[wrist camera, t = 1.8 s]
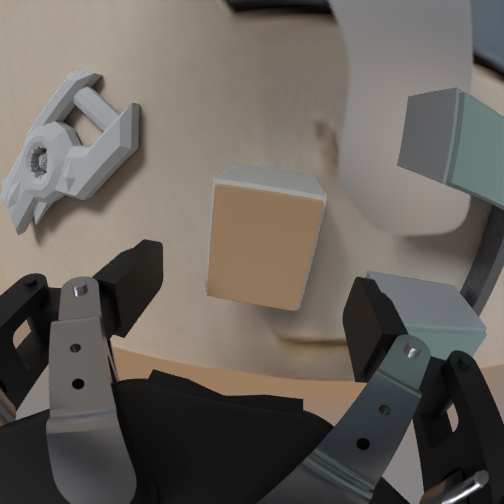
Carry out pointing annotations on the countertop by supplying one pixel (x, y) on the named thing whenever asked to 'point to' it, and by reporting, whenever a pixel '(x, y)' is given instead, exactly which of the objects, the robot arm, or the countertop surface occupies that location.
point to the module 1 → (263, 235)
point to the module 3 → (433, 314)
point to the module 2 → (455, 143)
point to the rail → (486, 263)
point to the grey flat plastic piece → (68, 151)
